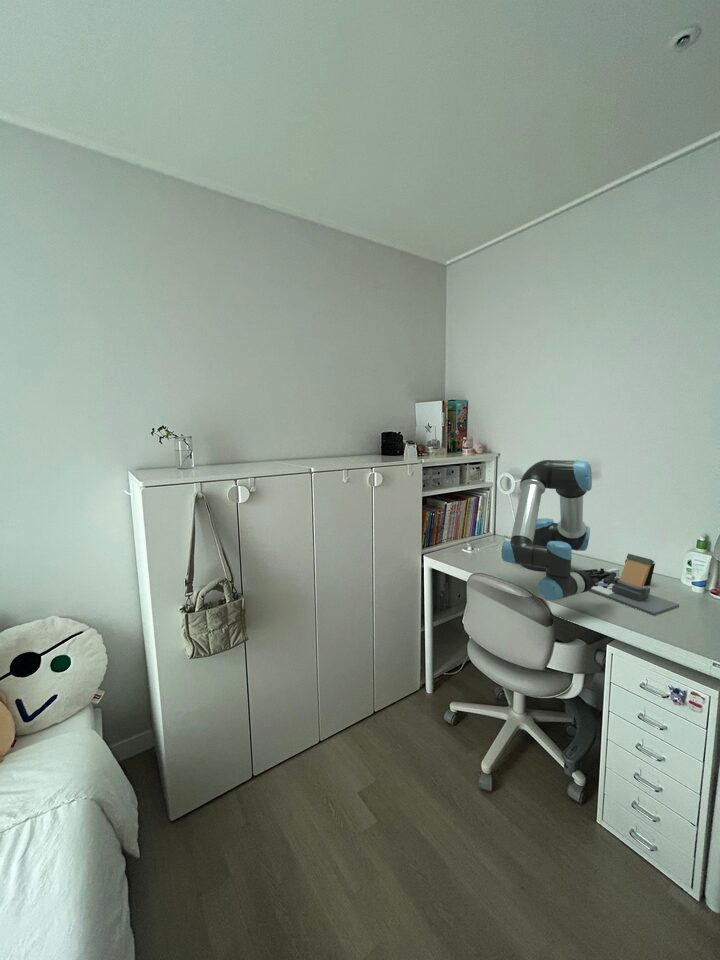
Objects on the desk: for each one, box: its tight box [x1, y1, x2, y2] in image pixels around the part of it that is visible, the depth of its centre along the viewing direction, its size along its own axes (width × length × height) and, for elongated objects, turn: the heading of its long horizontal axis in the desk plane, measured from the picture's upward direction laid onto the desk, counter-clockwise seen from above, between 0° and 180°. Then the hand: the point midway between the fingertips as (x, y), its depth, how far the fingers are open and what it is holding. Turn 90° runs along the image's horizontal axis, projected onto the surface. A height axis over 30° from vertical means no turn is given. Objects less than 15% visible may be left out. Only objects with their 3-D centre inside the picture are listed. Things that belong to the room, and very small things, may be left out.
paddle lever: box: [617, 553, 655, 591], centre depth 152 cm, size 9×2×13 cm, turn 25°
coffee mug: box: [624, 558, 656, 587], centre depth 168 cm, size 12×9×10 cm
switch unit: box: [588, 576, 680, 616], centre depth 152 cm, size 26×16×6 cm, turn 25°
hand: (617, 571), depth 147 cm, fingers closed
